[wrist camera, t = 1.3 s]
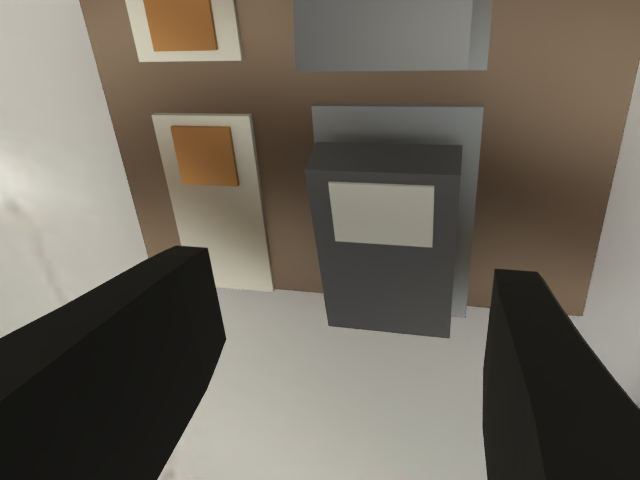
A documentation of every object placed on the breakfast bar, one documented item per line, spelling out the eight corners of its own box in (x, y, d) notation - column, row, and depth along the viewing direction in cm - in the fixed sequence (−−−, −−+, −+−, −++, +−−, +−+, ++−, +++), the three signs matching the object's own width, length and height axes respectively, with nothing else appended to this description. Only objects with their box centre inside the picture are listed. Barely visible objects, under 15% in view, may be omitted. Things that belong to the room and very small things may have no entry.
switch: (451, 306, 16) (449, 340, 16) (336, 295, 17) (328, 327, 16) (462, 145, 13) (460, 177, 12) (315, 141, 14) (303, 171, 13)
